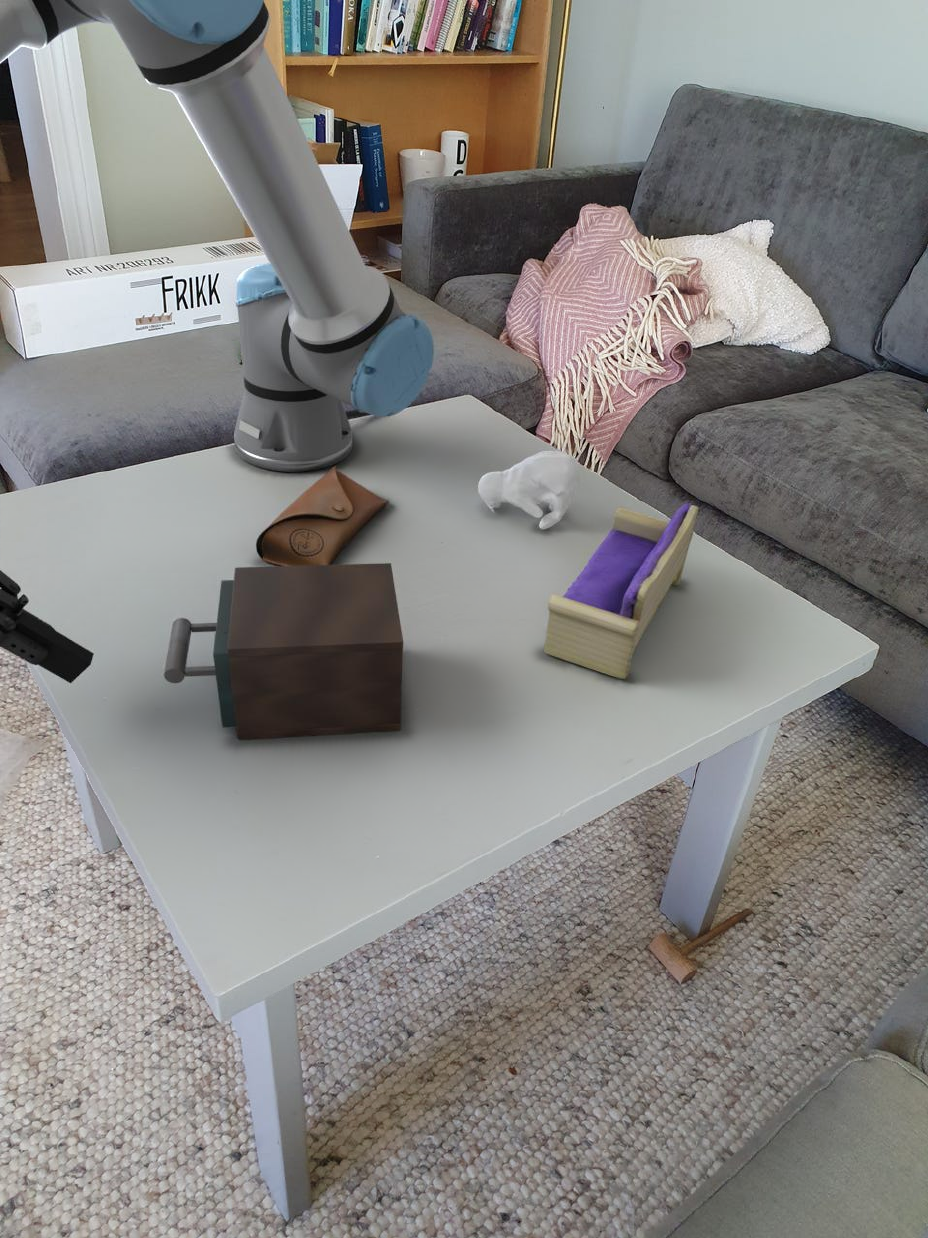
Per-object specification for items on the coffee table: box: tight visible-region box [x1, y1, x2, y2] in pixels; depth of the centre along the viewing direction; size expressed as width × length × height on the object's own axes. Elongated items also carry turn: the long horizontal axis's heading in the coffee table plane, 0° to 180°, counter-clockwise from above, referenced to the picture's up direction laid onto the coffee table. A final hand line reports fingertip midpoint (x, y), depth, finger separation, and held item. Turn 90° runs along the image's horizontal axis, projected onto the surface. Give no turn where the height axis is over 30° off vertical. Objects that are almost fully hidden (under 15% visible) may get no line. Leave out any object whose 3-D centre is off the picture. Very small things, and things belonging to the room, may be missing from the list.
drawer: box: [163, 579, 236, 729], centre depth 78 cm, size 17×10×8 cm, turn 99°
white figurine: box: [477, 450, 580, 531], centre depth 108 cm, size 6×8×12 cm
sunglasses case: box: [255, 466, 390, 566], centre depth 103 cm, size 18×7×7 cm
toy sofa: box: [544, 503, 699, 680], centre depth 91 cm, size 21×9×10 cm, turn 154°
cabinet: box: [228, 562, 404, 740], centre depth 79 cm, size 14×12×10 cm
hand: (82, 668), depth 77 cm, fingers closed
